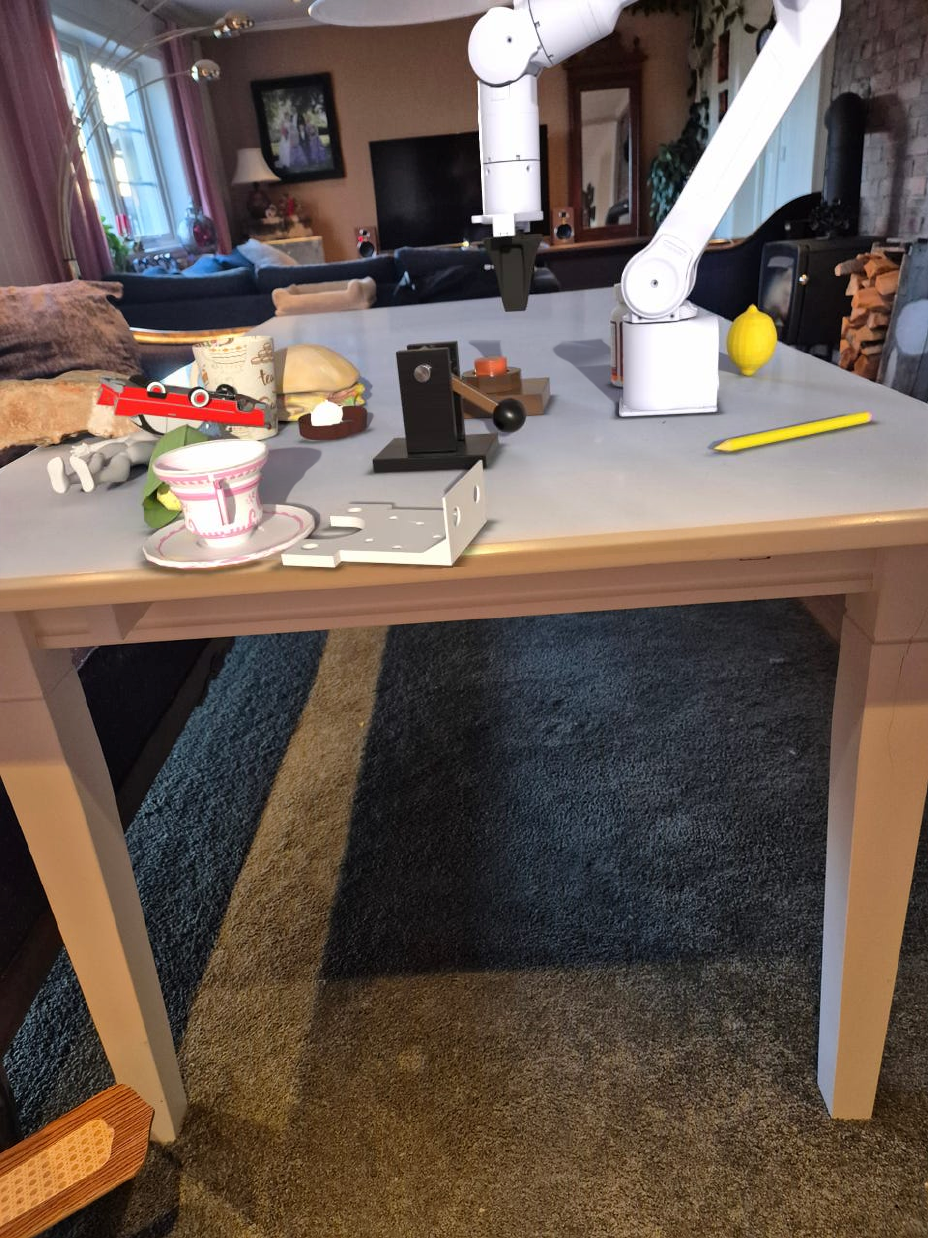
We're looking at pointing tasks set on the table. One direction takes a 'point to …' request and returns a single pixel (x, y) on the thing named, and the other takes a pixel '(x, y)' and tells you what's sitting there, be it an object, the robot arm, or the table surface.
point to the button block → (507, 391)
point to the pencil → (794, 431)
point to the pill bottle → (617, 336)
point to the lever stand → (433, 416)
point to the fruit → (751, 340)
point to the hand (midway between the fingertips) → (515, 310)
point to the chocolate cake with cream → (332, 421)
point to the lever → (493, 405)
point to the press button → (490, 365)
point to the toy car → (176, 404)
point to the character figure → (105, 461)
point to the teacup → (221, 508)
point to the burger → (313, 380)
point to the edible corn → (156, 492)
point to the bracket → (401, 531)
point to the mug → (240, 378)
